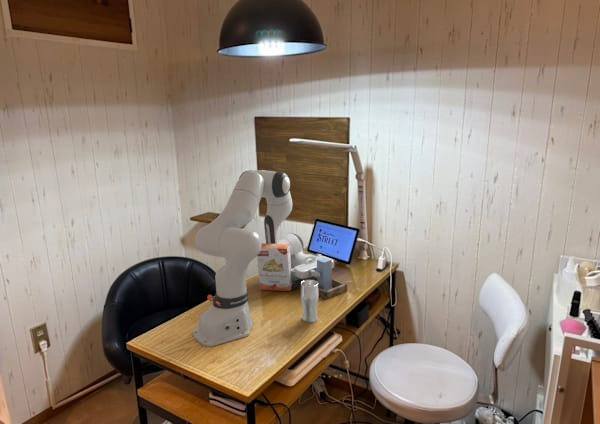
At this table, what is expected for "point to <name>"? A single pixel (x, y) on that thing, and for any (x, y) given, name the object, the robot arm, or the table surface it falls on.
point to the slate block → (324, 273)
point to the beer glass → (309, 300)
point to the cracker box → (275, 267)
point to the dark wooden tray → (337, 290)
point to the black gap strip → (298, 283)
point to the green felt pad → (294, 277)
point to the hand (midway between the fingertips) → (325, 272)
